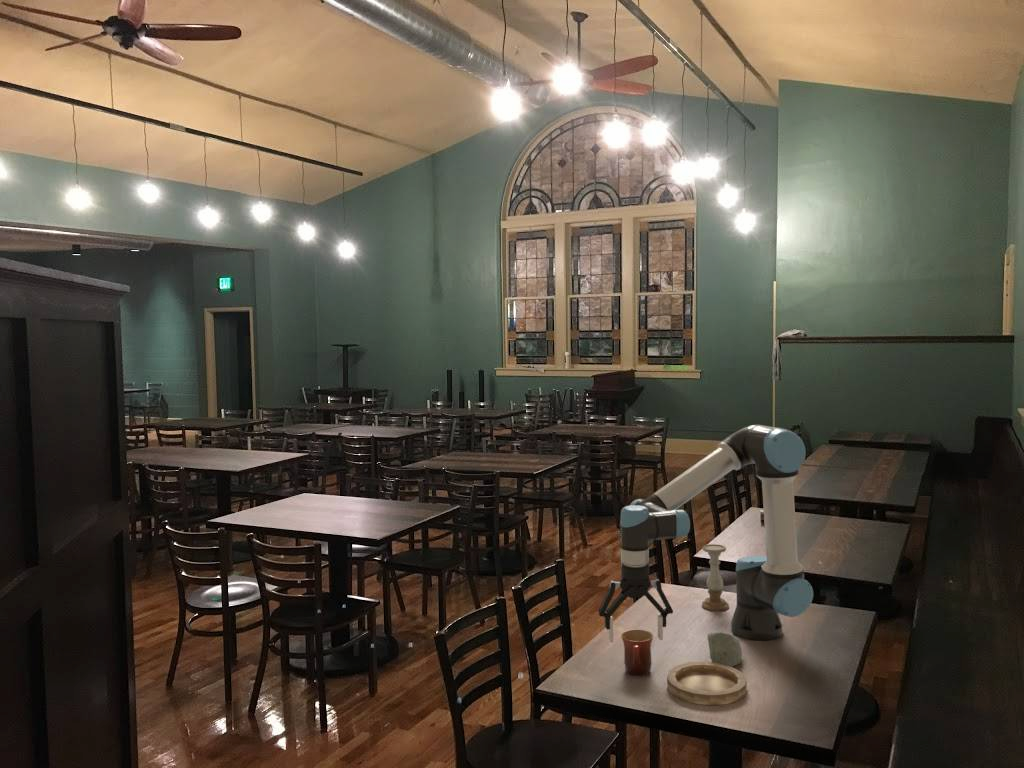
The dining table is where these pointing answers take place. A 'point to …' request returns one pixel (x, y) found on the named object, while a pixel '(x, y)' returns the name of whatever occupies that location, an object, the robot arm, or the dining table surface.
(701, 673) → the round tray
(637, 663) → the mug
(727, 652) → the decorative stone
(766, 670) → the dining table surface
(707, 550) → the candle holder
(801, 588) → the robot arm
